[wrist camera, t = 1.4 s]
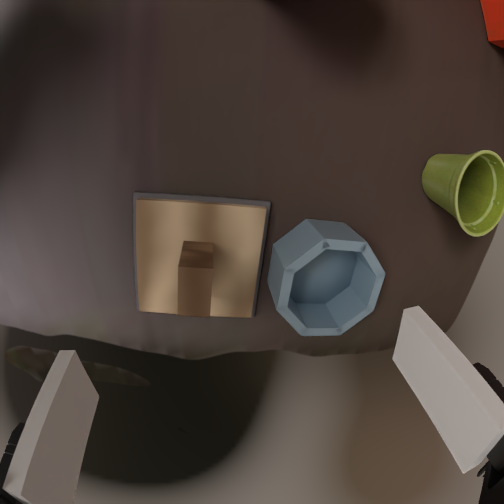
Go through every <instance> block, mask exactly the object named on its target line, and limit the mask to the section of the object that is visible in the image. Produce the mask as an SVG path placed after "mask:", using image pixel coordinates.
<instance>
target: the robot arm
mask: <svg viewBox="0 0 504 504" xmlns="http://www.w3.org/2000/svg"><path fill="white" fill-rule="evenodd" d="M392 359H393V361H394V362H395V364H396V366H397V367H398V369H399V370H400V372H401V373H402V374H403V376H404V378H405V379H406V381H407V382H408V384H409V385H410V387H411V389H412V390H413V392H414V393H415V395H416V396H417V398H418V399H419V401H420V403H421V404H422V406H423V407H424V409H425V411H426V412H427V414H428V416H429V417H430V419H431V420H432V422H433V424H434V425H435V427H436V429H437V430H438V432H439V434H440V435H441V437H442V439H443V440H444V442H445V443H446V445H447V447H448V449H449V450H450V452H451V453H452V455H453V457H454V459H455V461H456V462H457V464H458V466H459V468H460V469H461V471H462V473H463V474H464V473H465V472H467V471H469V470H471V469H472V468H474V467H476V466H477V465H479V464H480V463H481V461H482V460H483V459H484V458H485V457H486V456H487V458H488V459H489V461H488V462H487V463H486V464H485V465H484V466H483V467H482V468H481V469H480V471H479V472H478V474H477V476H478V477H479V476H480V475H481V474H482V473H483V472H484V471H485V474H484V475H483V477H484V481H483V486H482V491H481V495H480V500H479V504H504V387H502V384H501V383H500V382H499V381H498V380H496V377H495V376H494V375H493V374H492V372H491V371H490V370H489V369H488V368H486V367H485V366H483V365H481V364H480V363H475V364H473V365H472V364H471V363H470V362H469V361H468V359H467V358H466V357H465V356H464V355H463V354H462V353H461V351H459V349H458V348H457V347H456V346H455V345H454V343H453V342H452V341H451V340H450V339H449V338H448V337H447V336H446V335H445V333H444V332H443V331H442V330H441V329H440V328H439V327H438V326H437V325H436V324H435V323H434V321H433V320H432V319H431V318H430V317H429V316H428V315H427V314H426V313H425V312H424V311H423V310H422V309H421V308H420V307H419V306H415V307H411V308H407V309H404V311H403V316H402V320H401V325H400V329H399V334H398V338H397V342H396V346H395V350H394V354H393V358H392ZM98 400H99V395H98V393H97V392H96V390H95V388H94V386H93V384H92V382H91V381H90V379H89V377H88V375H87V373H86V371H85V369H84V367H83V365H82V363H81V361H80V359H79V357H78V355H77V353H76V352H75V350H60V351H59V353H58V355H57V357H56V359H55V361H54V363H53V365H52V367H51V369H50V371H49V373H48V375H47V377H46V379H45V381H44V383H43V385H42V388H41V390H40V392H39V394H38V397H37V399H36V401H35V403H34V406H33V408H32V410H31V413H30V415H29V417H28V419H27V422H26V423H19V425H18V426H17V427H16V428H15V429H14V430H13V432H12V434H11V436H10V439H9V441H8V445H7V447H6V449H5V454H3V457H2V460H1V462H0V504H73V502H74V497H75V492H76V487H77V482H78V477H79V473H80V468H81V464H82V460H83V455H84V451H85V447H86V443H87V439H88V435H89V431H90V428H91V424H92V420H93V417H94V413H95V410H96V406H97V403H98Z"/></svg>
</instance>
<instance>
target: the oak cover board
mask: <svg viewBox="0 0 504 504" xmlns="http://www.w3.org/2000/svg"><path fill="white" fill-rule="evenodd" d="M265 217H266V207H263V206H252V205H241V204H228V203H215V202H202V201H187V200H171V199H153V198H137V199H136V255H137V281H138V299H139V311H145V312H158V313H171V314H178V315H179V316H195V317H210V316H222V317H247V318H251V314H252V307H253V300H254V294H255V287H256V280H257V273H258V266H259V259H260V252H261V245H262V238H263V231H264V224H265Z"/></svg>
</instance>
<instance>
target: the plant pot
mask: <svg viewBox="0 0 504 504" xmlns="http://www.w3.org/2000/svg"><path fill="white" fill-rule="evenodd" d="M422 186H423V189H424V192H425V194H426V195H427V196H428V197H429V198H430V199H431V200H432V201H434V202H435V203H437V204H438V205H439V206H441V207H442V208H444V209H445V210H446V211H448V212H449V213H450V214H451V215H453V216H454V217H455V218H456V220H457V221H458V223H459V225H460V226H461V228H462V229H463V230H464V231H465V232H466V233H467V234H469V235H471V236H475V237H478V236H483V235H485V234H487V233H488V232H490V231H491V230H492V229H493V228H494V227H495V226H496V225H497V223H498V222H499V220H500V219H501V217H502V215H503V213H504V163H503V161H502V159H501V158H500V157H499V156H498V155H497V154H496V153H494V152H492V151H489V150H481V151H478V152H476V153H474V154H470V155H460V154H436V155H434V156H432V157H431V158H430V159H429V160H428V161H427V165H426V167H425V169H424V170H423V172H422Z"/></svg>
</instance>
